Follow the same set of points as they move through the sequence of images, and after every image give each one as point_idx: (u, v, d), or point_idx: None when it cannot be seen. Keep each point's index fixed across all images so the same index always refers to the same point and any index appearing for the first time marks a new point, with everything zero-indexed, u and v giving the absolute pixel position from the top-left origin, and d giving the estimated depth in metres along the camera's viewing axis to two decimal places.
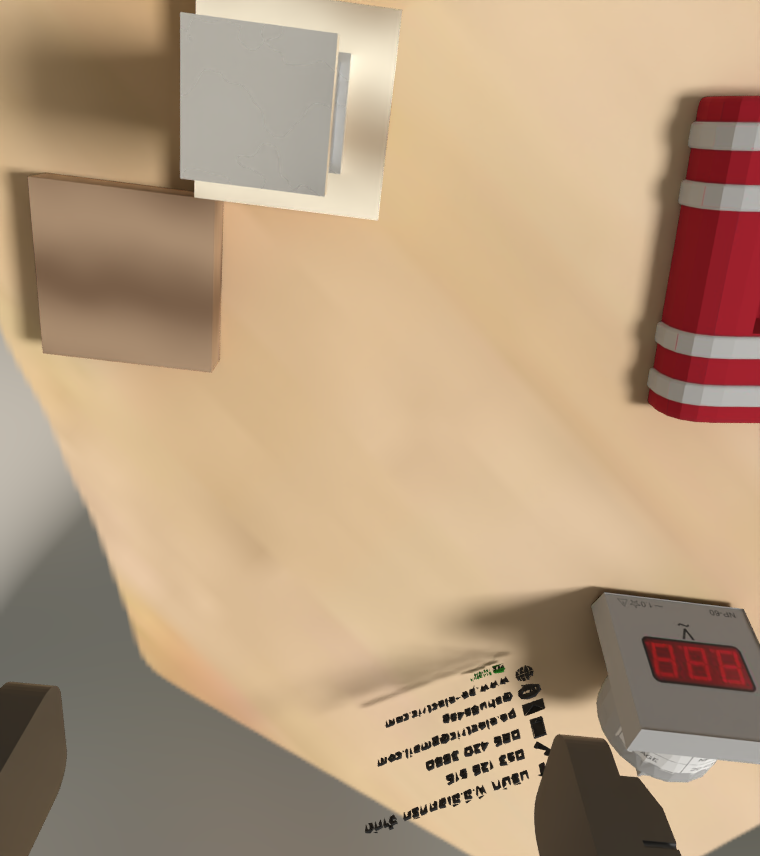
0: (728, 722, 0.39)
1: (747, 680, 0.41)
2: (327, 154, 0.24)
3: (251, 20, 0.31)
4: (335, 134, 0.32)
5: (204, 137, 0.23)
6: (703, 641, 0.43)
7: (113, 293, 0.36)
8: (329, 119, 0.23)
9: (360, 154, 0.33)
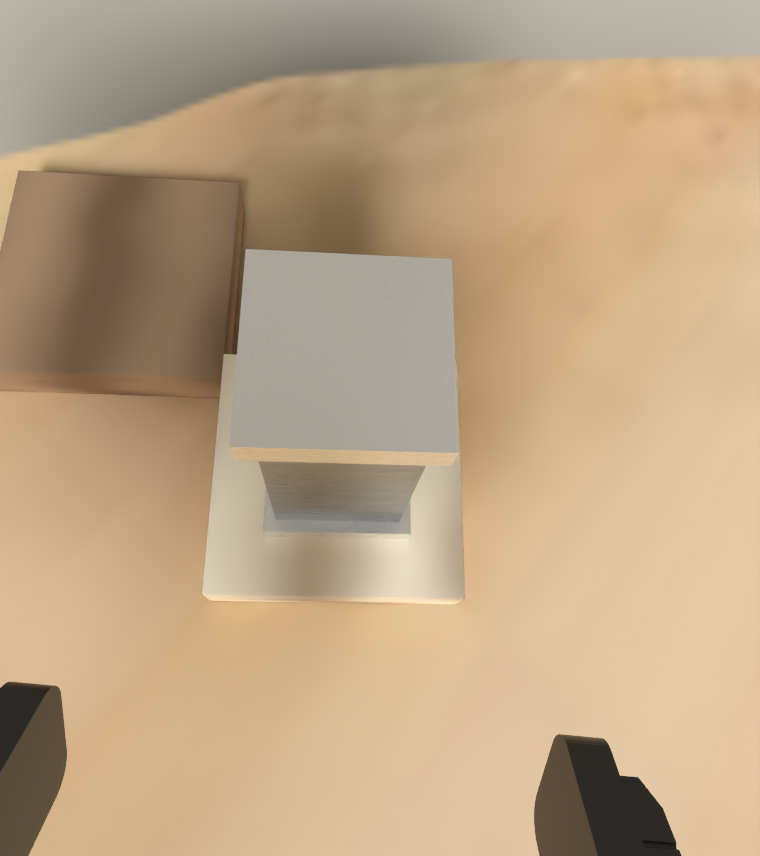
0: None
1: None
2: (293, 449, 0.15)
3: None
4: (313, 520, 0.24)
5: (303, 281, 0.17)
6: None
7: (97, 255, 0.28)
8: (344, 447, 0.15)
9: (290, 560, 0.24)
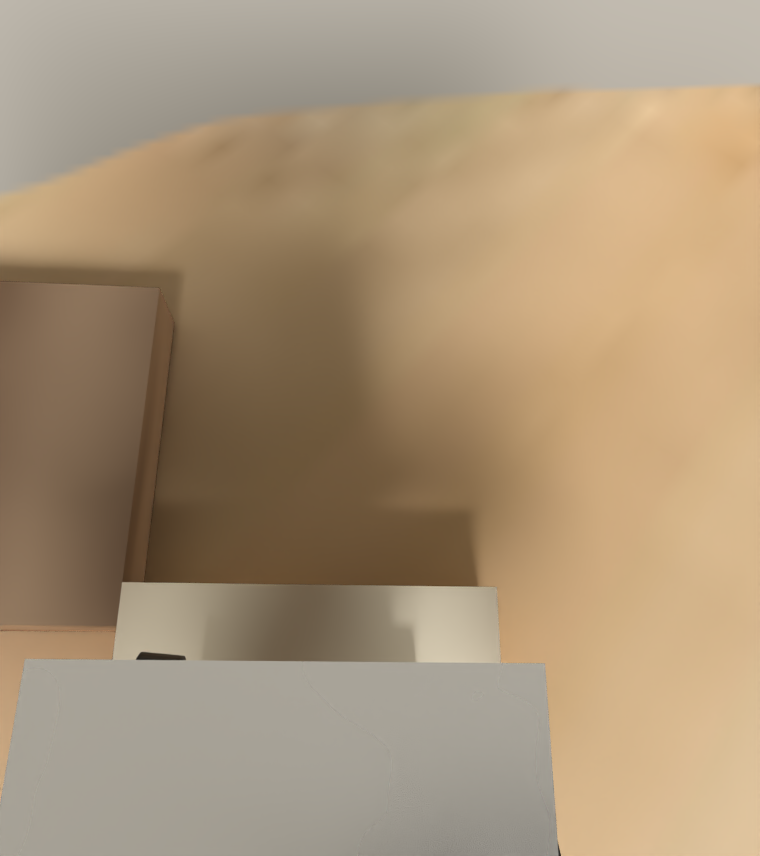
0: None
1: None
2: None
3: None
4: None
5: (168, 753, 0.06)
6: None
7: None
8: None
9: None
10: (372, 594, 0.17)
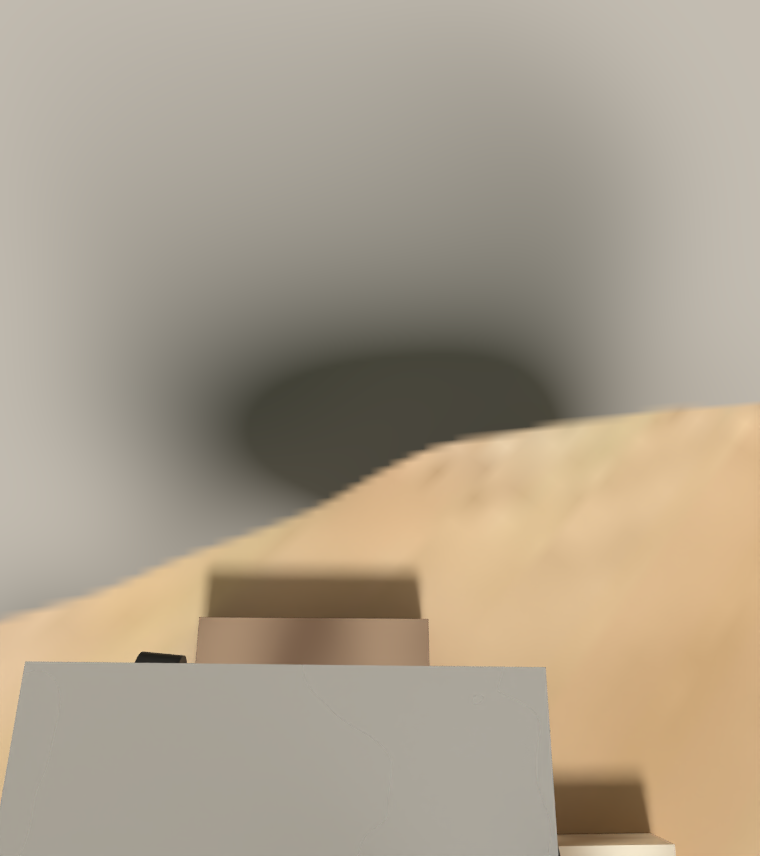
0: None
1: None
2: None
3: None
4: None
5: (168, 756, 0.06)
6: None
7: None
8: None
9: None
10: (594, 852, 0.25)
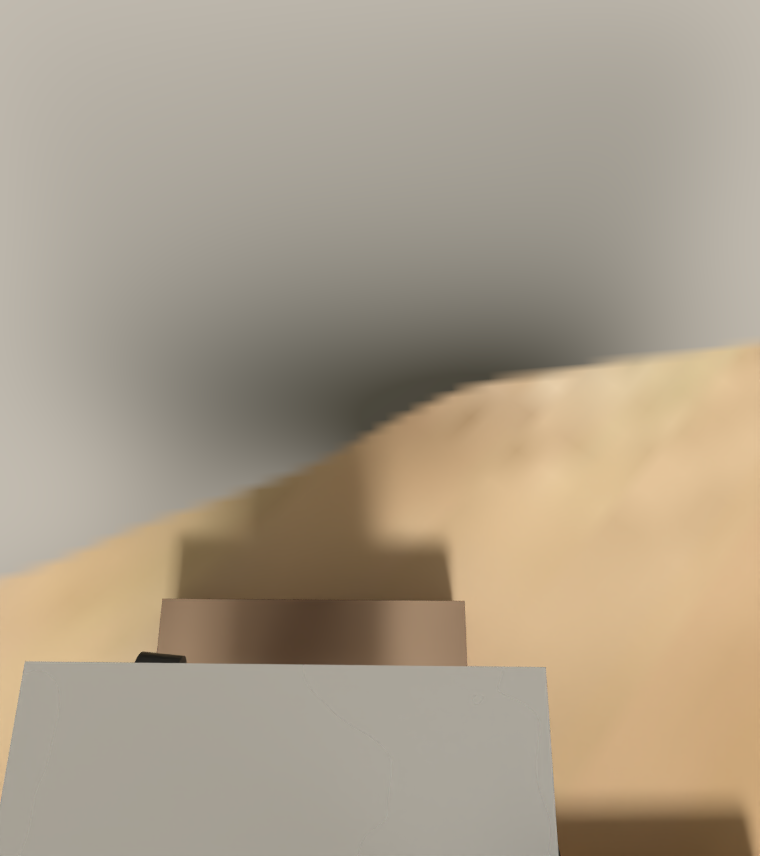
0: None
1: None
2: None
3: None
4: None
5: (167, 757, 0.06)
6: None
7: None
8: None
9: None
10: None
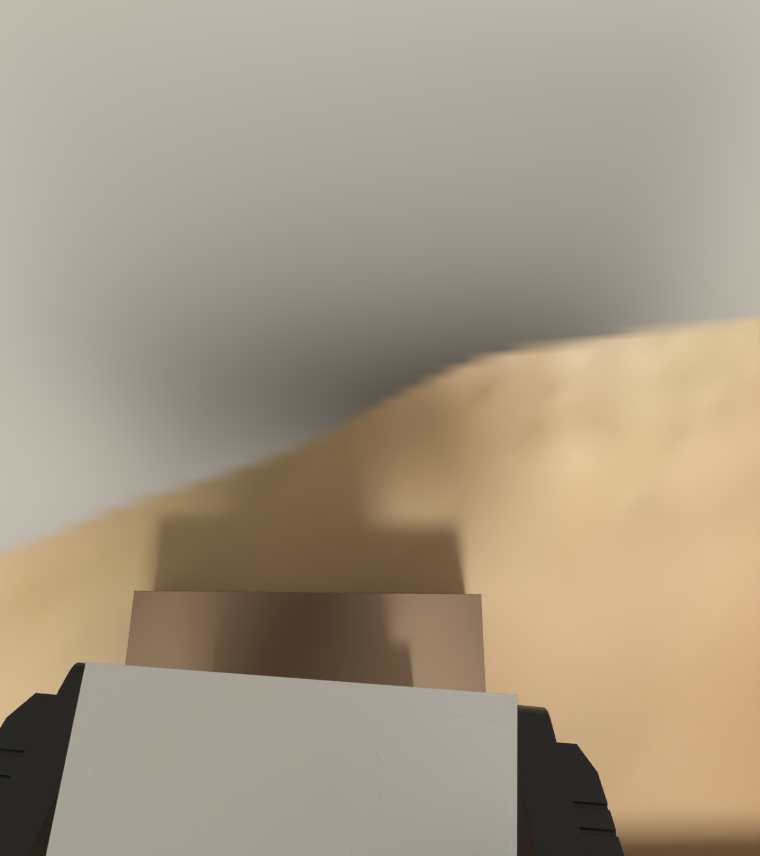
0: None
1: None
2: None
3: None
4: None
5: (199, 749, 0.08)
6: None
7: None
8: None
9: None
10: None
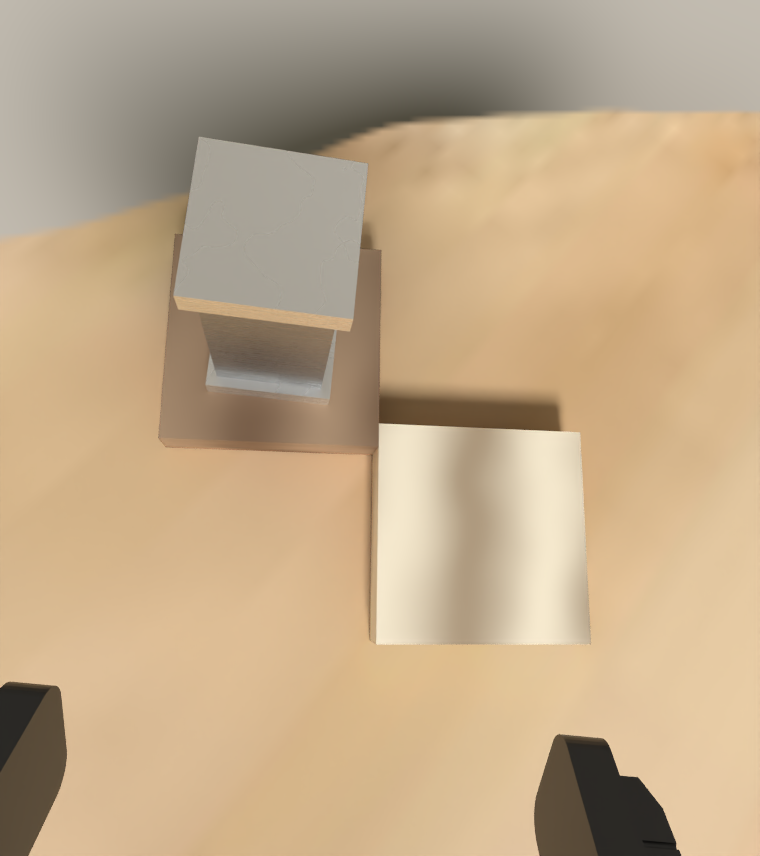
0: None
1: None
2: (224, 303, 0.19)
3: (557, 486, 0.30)
4: (248, 380, 0.28)
5: (244, 169, 0.20)
6: None
7: None
8: (263, 305, 0.19)
9: (447, 614, 0.28)
10: (513, 434, 0.30)
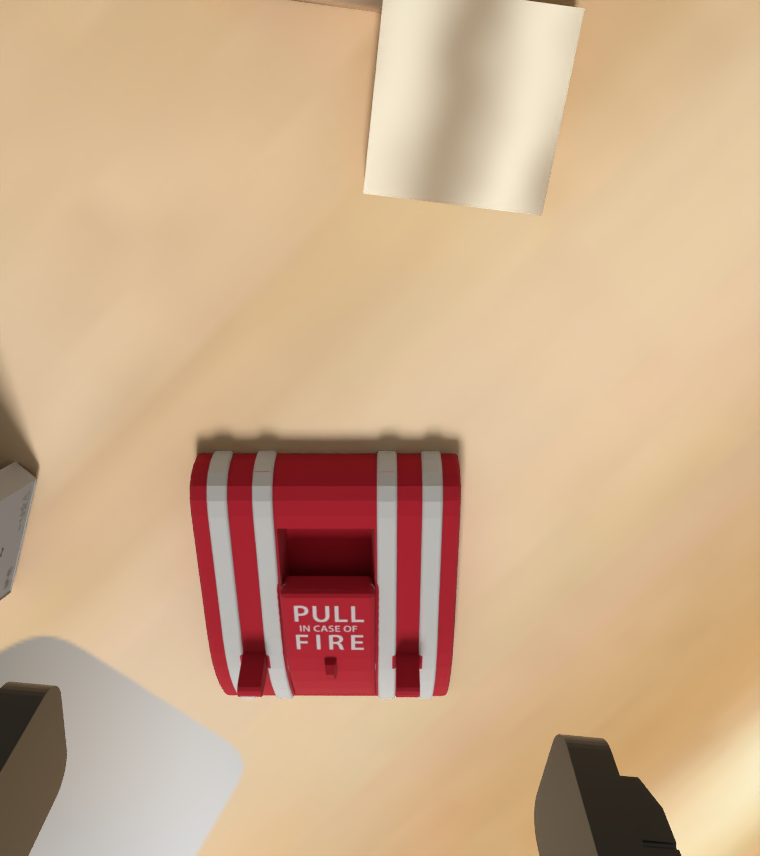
0: None
1: None
2: None
3: (546, 66, 0.32)
4: None
5: None
6: None
7: None
8: None
9: (424, 175, 0.34)
10: (516, 4, 0.31)
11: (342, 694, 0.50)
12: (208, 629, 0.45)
